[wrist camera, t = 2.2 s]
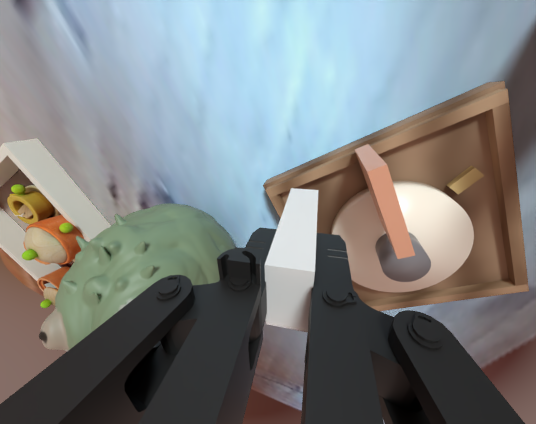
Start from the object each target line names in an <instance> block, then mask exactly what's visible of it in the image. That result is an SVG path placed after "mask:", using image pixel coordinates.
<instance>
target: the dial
mask: <svg viewBox="0 0 536 424" xmlns="http://www.w3.org/2000/svg"><path fill="white" fill-rule="evenodd" d="M355 152H356V155H357V158H358V160H359V163H360V166H361V169H362V172H363V174H364V177H365V180H366V183H367V186H368V188H367V189H365V190H363V191H361V192H359V193H357V194H356V195H355V196H353V197H352V198H350V199H349V200H348V201H347V202H346V203H345V204H344V205H343V206H342V208H341V209H340V210H339V212H338V213H337V215H336V217H335V219H334V221H333V225H332V229H331V234H333V235H340V237H341V238H342V239H343V240H344V241H345V243H346V249H347V255H348V261H349V267H350V273H351V279H352V280H353V281H354V282H356V283H358V284H360V285H362V286H364V287H367V288H370V289H373V290H377V291H383V292H395V293H396V292H410V291H416V290H420V289H424V288H427V287H430V286H432V285H435V284H437V283H439V282H441V281H443V280H445V279H446V278H448V277H449V276H451V275H452V274H453V273H454V272H456V271H457V270H458V269H459V268H460V267H461V266H462V265H463V263H464V262H465V260H466V259H467V258H468V256H469V254H470V252H471V249H472V246H473V240H474V230H473V226H472V222H471V220H470V218H469V216H468V214H467V213H466V212H465V210H464V209H463V208H462V207H461V206H460V205H459V204H458V203H456V202H455V201H454V200H453V199H452V198H450V197H449V196H448V195H447V194H445V193H444V192H442V191H441V190H439V189H437V188H435V187H433V186H431V185H428V184H424V183H421V182H414V181H392V179H391V175H390V172H389V169H388V166H387V164H386V163H385V162H384V160H383V159H382V158H381V157H380V156H379V155H378V154H377V153H376V152H375V151H374V150H373V149H372V148H371V146H370V145H369V144H367V145H364V146H362V147H359V148H357V149H355Z"/></svg>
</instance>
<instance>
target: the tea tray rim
mask: <svg viewBox="0 0 536 424" xmlns="http://www.w3.org/2000/svg"><path fill="white" fill-rule="evenodd" d="M19 169H20V170H21V171H22V172H23V173H24V174H25V175H26V176H27V177H28V178H29V179H30V181H31V182H32V183H33V184H34V185H35V186H36V187H37V188H38V189H39V190H40V192H41V193H42V194H43V195H44V196H45V197H46V198H47V199H48V200H49V201H50V202H51V204H52V205H53V206H54V207H55V208H56V209H57V210H58V211H59V212H60V213H61V214H62V216H63V217H64V218H65V219H66V220H67V221H69V222H71V223H72V224H73V225H74V226H75V227H76V228H77V229H78V230H79V231H80V232H81V233H82V235H83V237H84V239H85V240H86V241H87V242H89V241H90V240H91V239H93V238H95V237H96V236H97V235H98V234H99V233H101V232H102V231H103V230H105V229H107V228H109V227H110V226H111V225H110V224H109V223H108V221H107V220H106V219H105V218H104V217H103V215H102V214H101V213H100V212H99V211H98V210H97V208H96V207H95V206H94V205H93V204H92V202H91V201H90V200H89V199H88V198H87V197H86V195H85V194H84V193H83V192H82V191H81V189H80V188H79V187H78V186H77V185H76V183H75V182H74V181H73V180H72V179H71V178H70V176H69V175H68V174H67V173H66V172H65V170H64V169H63V168H62V167H61V166H60V165H59V163H58V162H57V161H56V160H55V159H54V157H53V156H52V155H51V154H50V153H49V151H48V150H47V149H46V148H45V147H44V146H43V144H42V143H41V142H40V141H39V140H38V138H37V139H30V140H23V141H16V142H9V143H3V144H2V146H1V147H0V187H1V186H3V185H4V184H5V183H6V182H7V181H8V180H9V179H10V178H11V177H12V176H13V175H14V174H15V173H16V172H17V171H18V170H19ZM25 234H26V232H25V231H24V230H23V229H22V228H21V227H20V226H19V225H18V224H17V223H16V222H15V221H14V220H13V219H12V218H11V217H10V216H9V215H8V214H7V213H6V212H5V211H4V210H3V209H2V208H1V207H0V247H1V248H2V249H3V250H4V251H5V252H6V253H7V254H8V255H9V256H10V257H11V258H13V259H14V260H15V261H16V262H17V263H18V264H19V265H20V266H21V267H22V268H23V269H24V270H26V271H27V272H28V273H29V274H30V275H31V276H32V277H33V278H34V279H35V280H36V281H37V280H38V279H39V278H41V277H43V276H45V275H47V274H49V273H52V272H54V271H56V270H58V269H60V268H61V267H60V266H59V265H58V264H56V263H51V264H48V265H45V264H42V263H40V262H38V261H36V260H35V259H33V260H24V259H23V258H22V254H23V253H24V252H25V251H26V249H25V248H24V244H23V243H24V238H25ZM45 286H46V287H52V288H55V289H57V288H56V287H55V286H54V285H53V284H51V283H47V284H45Z"/></svg>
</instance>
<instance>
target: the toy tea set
mask: <svg viewBox="0 0 536 424" xmlns="http://www.w3.org/2000/svg"><path fill="white" fill-rule="evenodd" d="M11 191H12V192H13V193H15V194H10V196H9V197H8V199H7V201H8V205H9V207H10V209H11V210H12V212H13V213H14V215H15V216H17V217H18V218H19V219H21V220H22V221H24V222H25V223H28V224H30V225H29V226H28V227H27V228H26V234H25V238H24V243H23V244H24V248H25V249H26V251H25V252H24V253H23V254H22V258H23V259H24V260H33V259H35V260H36V261H38V262H40V263H42V264H45V265H48V264H51V263H56V264H67V263H69V262H71V261H73V262H75V255H76V254H77V253H79V252H80V251H81V248H80V246H79V244H78V242H77V240H76V236H79V237H81V238H83V239H84V237H83V235H82V233H81V232H80V231H79V230H78V229H77V228H76V227H75V226H74V225H73V224H72V223H71V222H69V221H67V220H66V219H65V218H64V217H63V216H62V214H61V213H60V212H59V211H58V210H57V209H56V208H55V207H54V206H53V205H52V204H51V202H50V201H49V200H48V199H47V198H46V197H45V196H44V195H43V194H42V193H41V192H40V190H39V189H38V188H37V187H36V186H35V185H30V186H27V187H26V188H25V187H24V186H23V185H20V184H17V185H13V186H12V187H11ZM84 240H85V239H84ZM69 269H70V267H66V266H65V267H62V268H60V269H58V270H56V271H54V272H52V273H49V274H47V275H45V276H43V277H41V278H39V279H38V280H37V283H38V286H39V287H40V289H41V290H42V291H43V292H44V298H45V300H44V301H42V302H41V304H40V305H41V307H42V308H47V307H49V306H50V305H51V304H52V305H55V297H56V294H57V292H58V289H59V285H60V282H61V280H62V278H63V276H64V275H65V274H66V272H67V271H68V270H69ZM47 283H51V284H53V285H54V286H55V287H56V288H57V289H55V288H52V287H46V286H45V284H47Z"/></svg>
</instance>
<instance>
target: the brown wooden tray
mask: <svg viewBox="0 0 536 424" xmlns="http://www.w3.org/2000/svg"><path fill="white" fill-rule="evenodd" d="M367 144H369V145H370V146H371V148H372V149H373V150H374V151H375V152H376V153H377V154H378V155H379V156H380V157H381V158H382V159H383V160H384V162H385V163H386V164H387V166H388V169H389V172H390V175H391V179H392V181H414V182H421V183H424V184H428V185H431V186H433V187H435V188H437V189H439V190H441V191H442V192H444V193H445V194H447V195H448V196H449V197H450V198H452V199H453V200H454V201H455V202H456V203H458V204H459V205H460V206H461V207H462V208H463V209H464V210H465V212H466V213H467V214H468V216H469V218H470V220H471V222H472V226H473V230H474V240H473V246H472V249H471V252H470V254H469V256H468V258H467V259H466V260H465V262H464V263H463V265H462V266H461V267H460V268H459V269H458V270H457V271H456V272H454V273H453V274H452V275H451V276H449V277H448V278H446V279H445V280H443V281H441V282H439V283H437V284H435V285H432V286H430V287H427V288H424V289H420V290H416V291H410V292H396V293H395V292H383V291H377V290H373V289H370V288H367V287H364V286H362V285H360V284H358V283H356V282H354V281H353V280H352V285H353V289H354V291H355V292H356V293H357V294H358V296H359V298H360V299H361V300H362V301H363V302H364V303H365V304H367V305H368V306H369V307H371V308H373V309H375V310H377V311H384V310H391V309H399V308H406V307H413V306H421V305H428V304H436V303H443V302H451V301H458V300H465V299H473V298H480V297H488V296H495V295H503V294H510V293H517V292H525V291H529V289H528V279H527V269H526V260H525V250H524V241H523V231H522V221H521V212H520V202H519V193H518V183H517V173H516V164H515V154H514V145H513V135H512V126H511V116H510V106H509V97H508V89H505V81H500V82H489V83H486V84H483V85H481V86H479V87H477V88H474V89H472V90H470V91H468V92H465V93H463V94H461V95H459V96H456V97H454V98H452V99H449V100H447V101H445V102H443V103H440V104H438V105H436V106H434V107H431V108H429V109H427V110H424V111H422V112H420V113H418V114H415V115H413V116H411V117H409V118H406V119H404V120H402V121H400V122H397V123H395V124H393V125H390V126H388V127H386V128H384V129H381V130H379V131H377V132H375V133H372V134H370V135H368V136H365V137H363V138H361V139H359V140H356V141H354V142H352V143H350V144H347V145H345V146H343V147H341V148H338V149H336V150H334V151H331V152H329V153H327V154H325V155H322V156H320V157H318V158H316V159H313V160H311V161H309V162H306V163H304V164H302V165H300V166H297V167H295V168H293V169H291V170H288V171H286V172H284V173H282V174H279V175H277V176H275V177H272V178H270V179H268V180H266V182H265V183H264V185H263V187H264V188H265V191H266V192H267V194H268V196H269V198H270V200H271V202H272V204H273V206H274V207H275V209H276V211H277V213H278V215H279V217H280V219H281V216H282V213H283V210H284V207H285V205H286V202H287V199H288V196H289V193H290V190H291V188H294V189H310V190H318V211H317V233H324V234H331V229H332V225H333V221H334V219H335V217H336V215H337V213H338V212H339V210H340V209H341V208H342V206H343V205H344V204H345V203H346V202H347V201H348V200H349V199H350V198H352V197H353V196H355V195H356V194H357V193H359V192H361V191H363V190H365V189H367V188H368V186H367V183H366V180H365V177H364V174H363V172H362V169H361V166H360V163H359V160H358V158H357V155H356V152H355V149H357V148H359V147H362V146H364V145H367Z"/></svg>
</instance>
